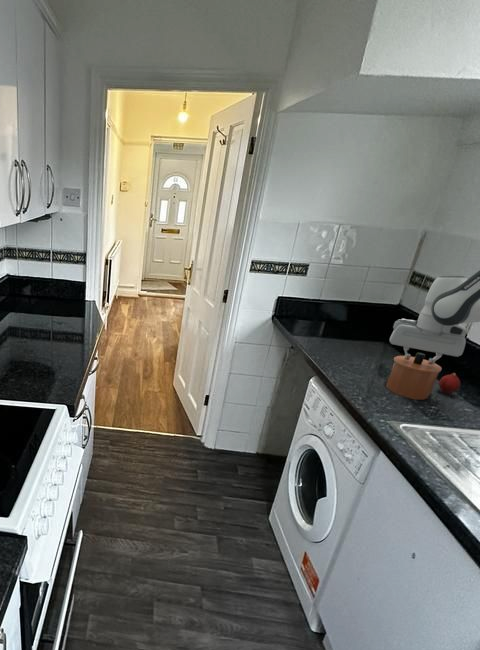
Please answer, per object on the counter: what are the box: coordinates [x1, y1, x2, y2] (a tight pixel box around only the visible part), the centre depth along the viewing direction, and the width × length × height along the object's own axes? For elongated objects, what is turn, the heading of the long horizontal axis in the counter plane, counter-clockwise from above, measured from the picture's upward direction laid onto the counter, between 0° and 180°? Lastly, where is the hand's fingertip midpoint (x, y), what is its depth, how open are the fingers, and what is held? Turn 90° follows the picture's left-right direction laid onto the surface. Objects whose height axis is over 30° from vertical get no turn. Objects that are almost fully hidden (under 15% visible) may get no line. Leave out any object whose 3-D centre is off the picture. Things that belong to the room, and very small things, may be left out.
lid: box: [393, 352, 443, 373], centre depth 144 cm, size 14×14×5 cm
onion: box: [438, 372, 461, 394], centre depth 147 cm, size 6×6×8 cm
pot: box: [385, 361, 440, 401], centre depth 146 cm, size 13×13×10 cm
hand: (418, 361), depth 144 cm, fingers open, 6 cm apart
